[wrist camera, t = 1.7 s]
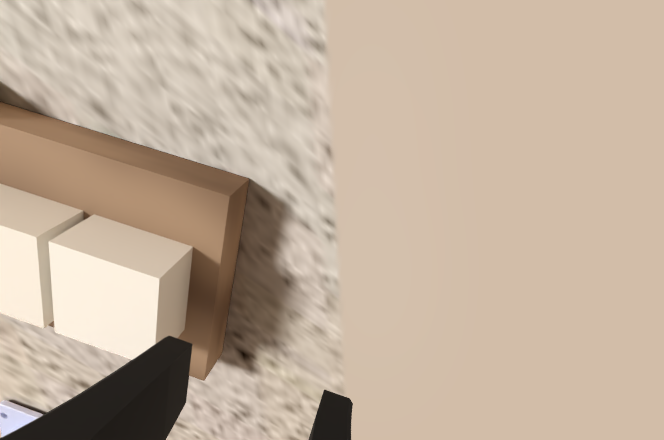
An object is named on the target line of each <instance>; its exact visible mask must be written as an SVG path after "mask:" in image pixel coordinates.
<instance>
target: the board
mask: <svg viewBox="0 0 664 440" xmlns="http://www.w3.org/2000/svg"><path fill="white" fill-rule="evenodd" d="M0 184H3V185H6V186H9V187H12V188H15V189H18V190H21V191H24V192H28V193H31V194H34V195H37V196H40V197H43V198H46V199H49V200H52V201H55V202H58V203H61V204H64V205H67V206H70V207H73V208H76V209H79V210H82V211H83V217H84V220H85V219H87V218H89V217H90V216H92V215H94V214H95V215H98V216H101V217H104V218H107V219H110V220H113V221H116V222H119V223H122V224H125V225H128V226H131V227H134V228H137V229H140V230H144V231H147V232H150V233H153V234H156V235H159V236H162V237H165V238H168V239H171V240H174V241H177V242H180V243H183V244H186V245H189V246H192V247H193V252H192V262H191V272H190V281H189V291H188V301H187V311H186V320H185V329H184V331H183V332H182V333H181V334H180V336H179V337H178V339H181V340H184V341H186V342H189V343H192V344H193V345H192V353H191V362H190V371H189V376H192V377H195V378H198V379H201V380H203V381H204V380H205V379H206V377H207V376H208V374H209V372H210V371H211V369H212V368H213V366H214V365H215V363H216V362H217V360H218V358H219V357H220V355H221V354H222V350H223V343H224V337H225V331H226V324H227V318H228V312H229V305H230V299H231V293H232V286H233V280H234V273H235V267H236V261H237V254H238V248H239V242H240V235H241V229H242V222H243V216H244V210H245V203H246V197H247V191H248V184H249V178H245V177H242V176H239V175H236V174H232V173H229V172H226V171H223V170H219V169H216V168H213V167H210V166H206V165H203V164H200V163H197V162H193V161H190V160H187V159H184V158H180V157H177V156H174V155H171V154H168V153H164V152H161V151H158V150H155V149H151V148H148V147H145V146H142V145H138V144H135V143H132V142H129V141H125V140H122V139H119V138H116V137H112V136H109V135H106V134H103V133H100V132H96V131H93V130H90V129H87V128H83V127H80V126H77V125H74V124H70V123H67V122H64V121H61V120H57V119H54V118H51V117H48V116H44V115H41V114H38V113H35V112H31V111H28V110H25V109H22V108H19V107H15V106H12V105H9V104H6V103H2V102H0ZM49 326H52V327H54V321H53V322H51V323H50V324H49Z"/></svg>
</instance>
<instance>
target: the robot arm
mask: <svg viewBox="0 0 664 440" xmlns="http://www.w3.org/2000/svg"><path fill="white" fill-rule="evenodd" d="M192 345H193V344H192V343H189V342H186V341H184V340H181V339H178V338H175V337H172V336H167V337H165V338H163V339H162V340H160V341H159V342H158V343H156V344H155V345H153V346H152V347H150V348H149V349H147V350H146V351H145V352H143V353H142V354H140V355H139V356H137V357H136V358H134V359H133V360H131V361H130V362H128V363H127V364H125V365H124V366H122V367H121V368H119V369H118V370H116V371H115V372H113V373H112V374H110V375H109V376H107V377H105V378H104V379H102V380H101V381H99V382H98V383H96V384H94V385H93V386H91V387H90V388H88V389H87V390H85V391H83V392H82V393H80V394H78V395H77V396H75V397H74V398H72V399H70V400H68V401H67V402H65V403H63V404H61V405H60V406H58V407H56V408H54V409H53V410H51V411H49V412H48V413H46V414H41V413H38V412H36V411H33V410H30V409H28V408H25V407H22V406H20V405H17V404H15V403H12V402H9V401H6V400H4V401H2V402H0V430H1V436H2V438H0V440H166V438H167V436H168V434H169V433H170V431H171V429H172V427H173V425H174V424H175V422H176V420H177V418H178V416H179V414H180V412H181V411H182V409H183V407H184V405H185V403H186V397H187V388H188V379H189V371H190V362H191V353H192ZM352 405H353V403H352V402H351V400H350V399H349V398H347V397H344V396H341V395H338V394H335V393H332V392H330V391H327V390H324V392H323V395H322V399H321V402H320V405H319V408H318V411H317V415H316V418H315V421H314V424H313V427H312V431H311V434H310V437H309V440H351V415H352Z"/></svg>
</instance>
